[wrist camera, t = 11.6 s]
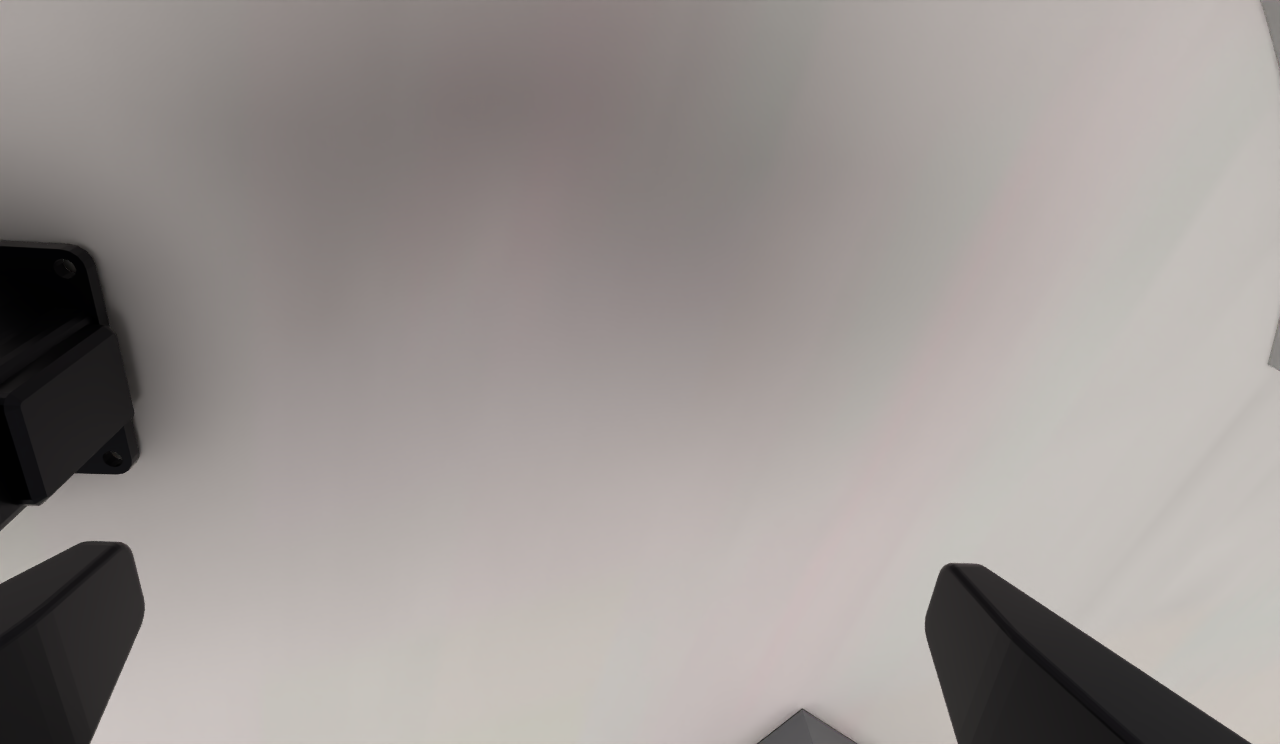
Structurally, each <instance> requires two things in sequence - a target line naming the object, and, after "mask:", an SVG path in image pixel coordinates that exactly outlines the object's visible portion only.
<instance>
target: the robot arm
mask: <svg viewBox="0 0 1280 744" xmlns="http://www.w3.org/2000/svg"><path fill="white" fill-rule="evenodd" d="M63 259H66V260H69V261H70V262H71V263H72V264H74V266H75V268H76V273H73V272H70V271H69V270H68V269H66V267H65V265H64V264H63ZM133 416H134V409H133V405H132V400H131V396H130V392H129V387H128V383H127V378H126V374H125V370H124V365H123V361H122V357H121V352H120V348H119V344H118V339H117V335H116V333H115V332H114V331H113V330H112V329H111V327H110V325H109V321H108V316H107V312H106V308H105V303H104V299H103V295H102V291H101V286H100V282H99V278H98V273H97V269H96V265H95V262H94V260H93V258H92V257H91V255H90V254H89V253H88V252H87V251H86V250H84V249H82V248H80V247H79V246H75V245H71V244H56V243H37V242H19V241H0V531H1V530H2V529H3V528H4V527H5V526H6V525H7V524H8V523H9V522H10V521H11V520H12V519H14V518H15V517H16V516H17V515H18V514H19V513H20V512H21V511H22V510H23V509H24V508H25V507H26V506H27V505H28V506H39V505H41V504H43V503H44V502H45V501H46V500H47V499H48V498H49V497H50V496H51V495H53V494H54V493H55V492H56V491H57V490H58V489H59V488H60V487H61V486H62V485H63V484H64V483H65V482H66V481H67V480H68V479H69V478H70V477H71V476H72V475H73V474H74V473H84V474H123V473H125V472H127V471H128V470H130V468H131V467H132V466H133V465H134V464H135V463H136V462H137V460H138V458H139V450H138V445H137V441H136V437H135V433H134V428H133V424H132V420H131V418H132V417H133ZM111 451H112V452H116V453H118V454H119V455H120V456H121V458H122V459H119V458H116V457H115V456H113V455H112V453H111ZM144 611H145V603H144V597H143V593H142V589H141V585H140V581H139V577H138V573H137V569H136V565H135V561H134V557H133V553H132V551H131V549H130V548H129V546H128V545H126V544H124V543H122V542H103V541H87V542H82V543H79V544H77V545H75V546H73V547H71V548H69V549H67V550H65V551H63V552H61V553H59V554H57V555H56V556H54V557H52V558H50V559H48V560H46V561H44V562H42V563H40V564H38V565H36V566H34V567H32V568H30V569H28V570H26V571H25V572H23V573H21V574H19V575H17V576H15V577H13V578H11V579H9V580H7V581H5V582H3V583H1V584H0V744H90V743H91V740H92V738H93V736H94V734H95V731H96V729H97V727H98V724H99V722H100V720H101V717H102V715H103V713H104V711H105V708H106V706H107V704H108V701H109V699H110V697H111V694H112V692H113V690H114V687H115V685H116V683H117V680H118V678H119V676H120V673H121V671H122V669H123V666H124V664H125V662H126V660H127V657H128V655H129V653H130V650H131V648H132V646H133V643H134V641H135V639H136V636H137V634H138V632H139V629H140V627H141V624H142V621H143V617H144ZM925 633H926V638H927V642H928V645H929V648H930V652H931V655H932V658H933V662H934V665H935V669H936V672H937V675H938V679H939V682H940V685H941V689H942V692H943V696H944V699H945V702H946V706H947V709H948V712H949V716H950V719H951V722H952V726H953V729H954V733H955V736H956V739H957V742H958V744H1251V743H1250V742H1248V741H1247V740H1245V739H1244V738H1242V737H1241V736H1239V735H1238V734H1236V733H1235V732H1233V731H1232V730H1230V729H1229V728H1227V727H1226V726H1224V725H1223V724H1221V723H1220V722H1218V721H1217V720H1215V719H1214V718H1212V717H1211V716H1209V715H1208V714H1206V713H1205V712H1203V711H1202V710H1200V709H1199V708H1197V707H1196V706H1194V705H1193V704H1191V703H1190V702H1188V701H1187V700H1185V699H1184V698H1182V697H1180V696H1179V695H1177V694H1176V693H1174V692H1173V691H1171V690H1170V689H1168V688H1167V687H1165V686H1164V685H1162V684H1161V683H1159V682H1158V681H1156V680H1155V679H1153V678H1152V677H1150V676H1149V675H1147V674H1146V673H1144V672H1143V671H1141V670H1140V669H1138V668H1137V667H1135V666H1134V665H1132V664H1131V663H1129V662H1128V661H1126V660H1125V659H1123V658H1122V657H1120V656H1119V655H1117V654H1116V653H1114V652H1113V651H1111V650H1110V649H1108V648H1107V647H1105V646H1104V645H1102V644H1101V643H1099V642H1098V641H1096V640H1095V639H1093V638H1092V637H1090V636H1088V635H1087V634H1085V633H1084V632H1082V631H1081V630H1079V629H1078V628H1076V627H1075V626H1073V625H1072V624H1070V623H1069V622H1067V621H1066V620H1064V619H1063V618H1061V617H1060V616H1058V615H1057V614H1055V613H1054V612H1052V611H1051V610H1049V609H1048V608H1046V607H1045V606H1043V605H1042V604H1040V603H1039V602H1037V601H1036V600H1034V599H1033V598H1031V597H1030V596H1028V595H1027V594H1025V593H1024V592H1022V591H1021V590H1019V589H1018V588H1016V587H1015V586H1013V585H1012V584H1010V583H1009V582H1007V581H1006V580H1004V579H1003V578H1001V577H1000V576H998V575H997V574H995V573H993V572H992V571H990V570H989V569H987V568H986V567H984V566H982V565H980V564H972V563H949V564H946V565H945V566H943V568H942V569H941V571H940V573H939V575H938V578H937V582H936V585H935V588H934V591H933V594H932V597H931V600H930V604H929V607H928V610H927V613H926V617H925Z"/></svg>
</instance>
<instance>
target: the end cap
mask: <svg viewBox="0 0 1280 744" xmlns="http://www.w3.org/2000/svg"><path fill="white" fill-rule="evenodd" d="M759 744H856V743H855V742H853V741H852V740H850V739H848V738H847V737H845V736H844V735H842V734H841V733H839V732H838V731H836V730H834V729H833V728H831V727H830V726H828V725H827V724H825V723H823V722H822V721H820V720H819V719H817V718H816V717H814V716H812V715H811V714H809V713H808V712H806V711H805V710H803V709H802V710H801V711H800V712H798V713H797V714H796V715H794V716H793V717H792V718H791V719H789V720H788V721H787V722H785V723H784V724H783V725H782V726H780V727H779V728H778V729H777V730H775V731H774V732H773V733H771V734H770V735H769V736H768V737H766V738H765V739H764V740H762V741H761V742H760V743H759Z"/></svg>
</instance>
